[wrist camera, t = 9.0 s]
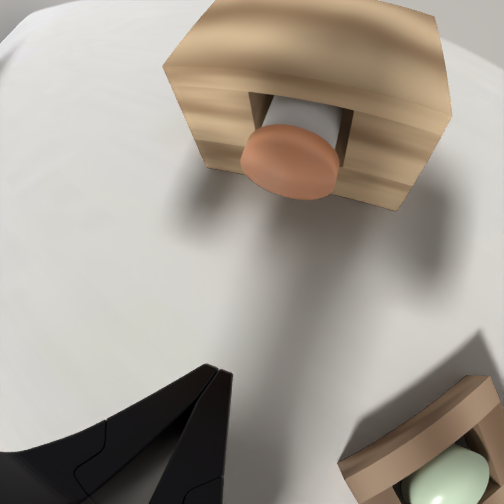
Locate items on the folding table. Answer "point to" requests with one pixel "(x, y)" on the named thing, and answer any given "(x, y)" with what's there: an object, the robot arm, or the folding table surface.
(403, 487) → the table button
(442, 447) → the button housing
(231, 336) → the folding table surface
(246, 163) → the plunger
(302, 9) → the wooden box
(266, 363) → the folding table surface
